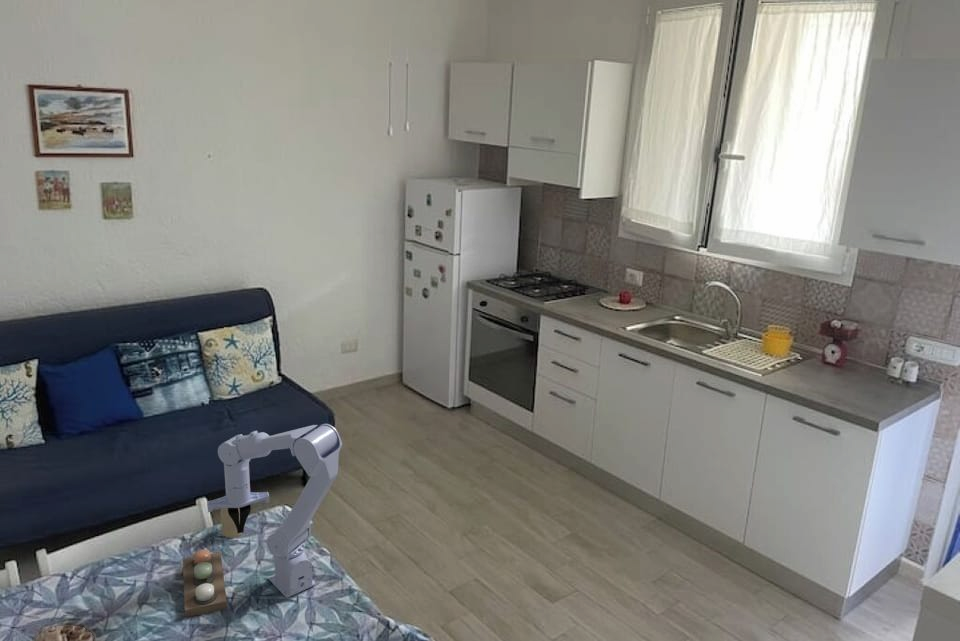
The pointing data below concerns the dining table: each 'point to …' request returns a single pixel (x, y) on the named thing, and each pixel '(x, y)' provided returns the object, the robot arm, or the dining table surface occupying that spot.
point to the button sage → (203, 570)
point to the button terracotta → (201, 556)
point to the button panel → (215, 579)
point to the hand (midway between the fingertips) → (240, 530)
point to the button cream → (204, 592)
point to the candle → (228, 524)
